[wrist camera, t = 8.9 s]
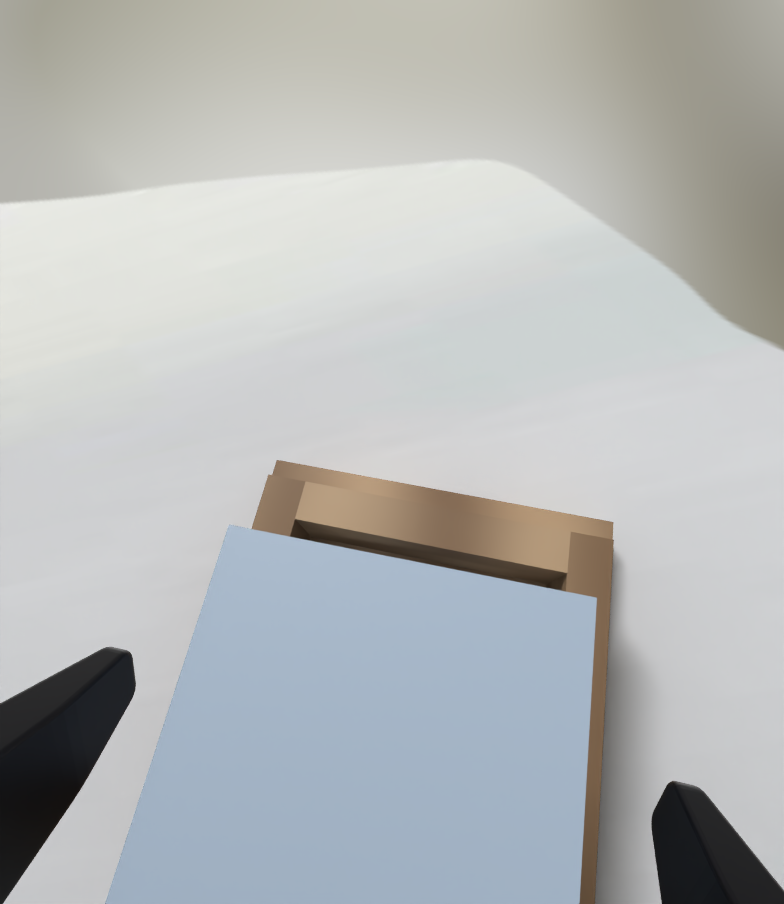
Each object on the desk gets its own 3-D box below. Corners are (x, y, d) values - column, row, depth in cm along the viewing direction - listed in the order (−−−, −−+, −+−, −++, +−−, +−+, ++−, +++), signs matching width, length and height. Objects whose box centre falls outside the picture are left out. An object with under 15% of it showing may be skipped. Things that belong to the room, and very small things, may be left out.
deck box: (303, 777, 15) (50, 1054, 5) (344, 603, 17) (224, 523, 6) (460, 817, 14) (566, 1232, 4) (484, 633, 16) (600, 599, 6)
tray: (150, 915, 15) (69, 995, 11) (284, 470, 20) (256, 432, 16) (569, 1044, 13) (622, 1181, 10) (601, 530, 18) (643, 501, 15)
